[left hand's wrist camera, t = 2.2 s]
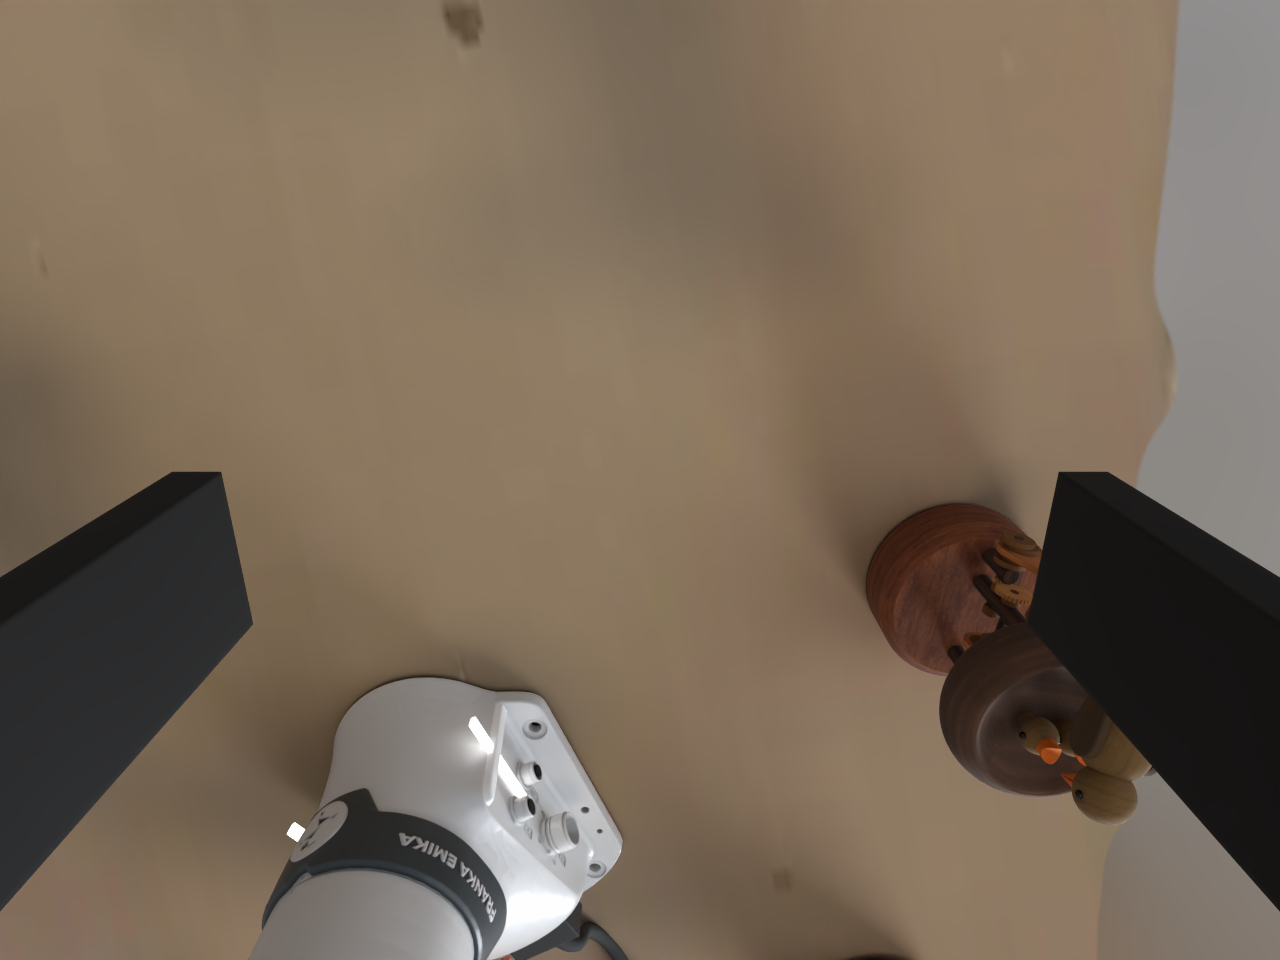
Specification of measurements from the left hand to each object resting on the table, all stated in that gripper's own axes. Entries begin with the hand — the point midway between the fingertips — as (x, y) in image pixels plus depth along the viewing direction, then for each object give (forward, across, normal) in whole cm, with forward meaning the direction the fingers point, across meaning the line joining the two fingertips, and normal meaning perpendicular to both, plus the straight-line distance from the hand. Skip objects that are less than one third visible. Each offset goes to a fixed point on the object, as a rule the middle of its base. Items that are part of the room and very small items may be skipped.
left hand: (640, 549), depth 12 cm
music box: (+32, +20, -19) cm, 42 cm away
